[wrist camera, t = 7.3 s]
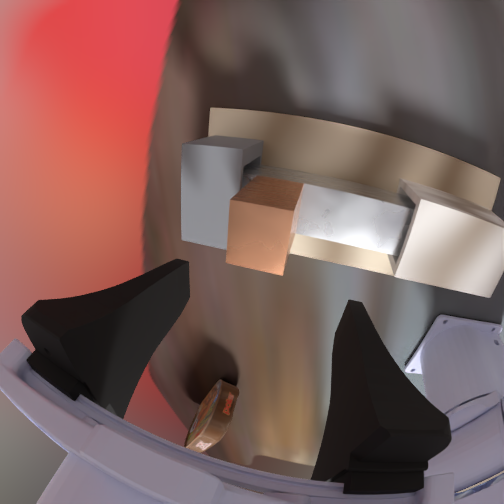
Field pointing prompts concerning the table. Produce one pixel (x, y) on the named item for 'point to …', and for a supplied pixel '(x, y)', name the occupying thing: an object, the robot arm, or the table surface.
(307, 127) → the tube stand
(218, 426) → the tin
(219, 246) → the socket
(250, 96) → the table surface
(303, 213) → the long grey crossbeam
